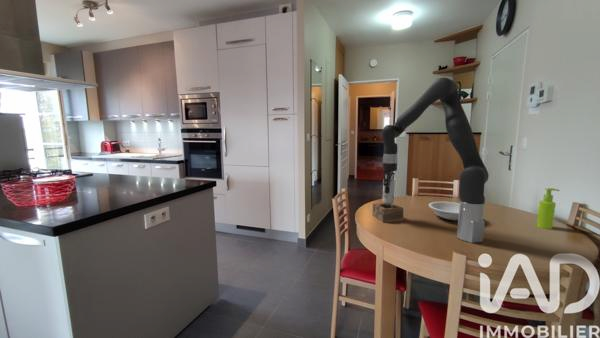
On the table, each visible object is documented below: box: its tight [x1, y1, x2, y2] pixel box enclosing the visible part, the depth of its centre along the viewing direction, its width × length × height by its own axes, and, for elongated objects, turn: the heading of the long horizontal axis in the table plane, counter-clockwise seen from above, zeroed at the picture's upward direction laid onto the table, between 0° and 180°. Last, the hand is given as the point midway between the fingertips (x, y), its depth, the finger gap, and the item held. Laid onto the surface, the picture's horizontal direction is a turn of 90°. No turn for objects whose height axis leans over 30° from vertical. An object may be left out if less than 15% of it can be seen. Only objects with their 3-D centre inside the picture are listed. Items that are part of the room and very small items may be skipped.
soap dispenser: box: [536, 187, 560, 230], centre depth 133 cm, size 6×7×20 cm
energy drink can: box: [382, 176, 396, 205], centre depth 147 cm, size 6×6×15 cm
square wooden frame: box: [371, 202, 404, 223], centre depth 149 cm, size 12×12×7 cm
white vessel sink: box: [428, 201, 460, 221], centre depth 148 cm, size 24×24×7 cm
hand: (388, 191), depth 147 cm, fingers closed on energy drink can, 6 cm apart
